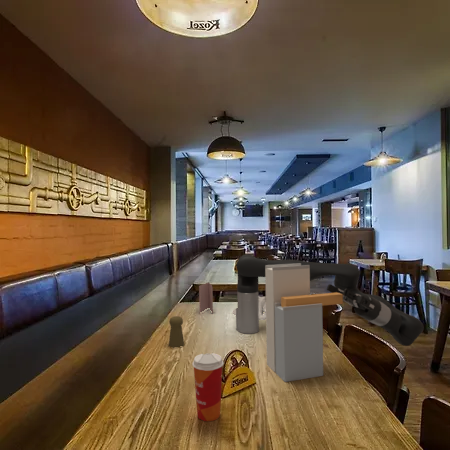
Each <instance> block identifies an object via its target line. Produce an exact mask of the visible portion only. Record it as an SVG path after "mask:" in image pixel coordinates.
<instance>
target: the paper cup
mask: <svg viewBox="0 0 450 450" xmlns="http://www.w3.org/2000/svg"><path fill="white" fill-rule="evenodd" d="M223 366H224V361H223V358H222V356H221V355H220V354H217V353H214V352H211V353H207V352H206V353H205V354H204V353H200V354H197V355H196V356H194V358H193V361H192V367H193V373H194V374H193V375H194V388H195V390H194V392H195V402H196V404H195V405H196V413H197V414H196V415H197V418H198V419H199V420H200V419H201V421H202V420H203V422H213V421H216V420H218V419H219V417H220V416H221V408H222V405H221V404H222V403H221V402H222V381H223V380H222V379H223Z"/></svg>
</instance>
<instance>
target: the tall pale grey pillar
mask: <svg viewBox="0 0 450 450" xmlns="http://www.w3.org/2000/svg"><path fill="white" fill-rule="evenodd" d="M264 278H265V296H266V320H265V322H266V323H265V325H266V327H265V329H266V330H265V331H266V333H265V334H266V337H265V339H266V341H265V342H266V366H268V367H269V368H270V370H272V372H274V373H276V342H275V303H281V297H289V296H301V295H311V281H310V265H302V266H301V263H297V264H279V265H265V277H264Z"/></svg>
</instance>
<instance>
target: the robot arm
mask: <svg viewBox="0 0 450 450" xmlns="http://www.w3.org/2000/svg"><path fill="white" fill-rule="evenodd" d="M297 263H301V266H302V265H310V282H311V281H313V280H317V279H319V278H321V277H326V276H334V281H333V284H334V285H333V284H331V283H329V284H328V285H327V288H326V290H327V291H328V292H329V293H336V292H337V293H340V294H343V303H344V302H345V303H346V304H348V305H349V306H351V307H353V308H354V312H355V314H356V315H358V317H361V318H363V319H364V320H365V321H368V322H370V323H371V324H374V325H376V326H378V327H380V328H382V329H383V330H385V331H386V332H388V333H389V334H390V335H391V336H392V338H393V339H394V340H395V341H396V342H397V343H398V344H399V345H401V346H405V347H409V346H411V345H412V344H413V343H414V342H415V341H416V340H417V338H418V337H419V336H420V335H421V334H422V332H423V331H424V327H425V326H424V324H423V322H422V321H421V320H420V319H419V318H417V317H416V316H413V315H410V314H408V313H406V312H404V311H402V310H400V309H398V308H396V307H395V306H394V305H393V304H391V302H389V301H388V300H386V299H385V298H383V297H381V296H379V295H377V294H369V293H364V292H362V291H361V290H360V289H359V288H358V283H359V279H360V277H361V276H360V274H361V271H360V269H359V267H357V266H355V265H352V264H349V263H332V262H331V263H330V262H329V263H328V262H327V263H326V262H325V263H324V262H315V261H314V262H313V261H306V260H297V259H274V260H270V259H263V258H259V257H256V256H254V255H253V254H251V253H250V254H249V253H247V254H243V255H241V256H240V257H239V258H238V259H237V262H236V265H235V266H236V267H235V268H236V270H237V284H236V285H237V286H236V287H237V288H236V291H237V307H236V308H235V309H236V316H235V330H236V331H238V332H239V333H242V334H257V333H258V332H260V320H259V297H258V296H259V278H266V277H265V265H279V264H297Z"/></svg>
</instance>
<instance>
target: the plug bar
mask: <svg viewBox="0 0 450 450" xmlns="http://www.w3.org/2000/svg"><path fill="white" fill-rule="evenodd" d="M310 304H322V307H324V306H331V305H332V306H334V305H341V304H342V305H343V304H344V301H343V294H340V292H339V293H337V292H336V293H331V292H327V293H316V294H315V293H314V294H310V295H301V296H289V297H281V307H289V306H300V305H310Z"/></svg>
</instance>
